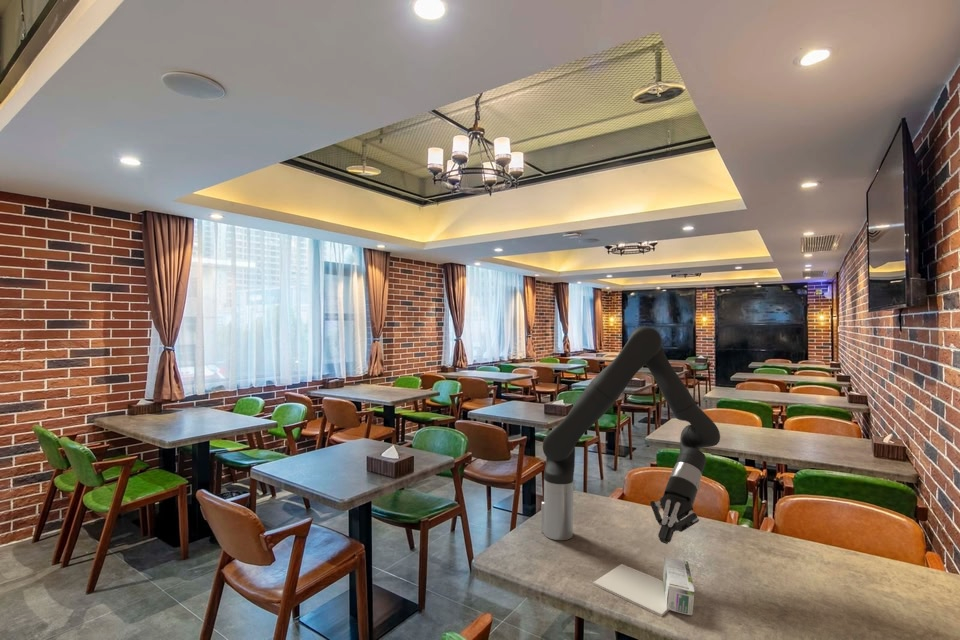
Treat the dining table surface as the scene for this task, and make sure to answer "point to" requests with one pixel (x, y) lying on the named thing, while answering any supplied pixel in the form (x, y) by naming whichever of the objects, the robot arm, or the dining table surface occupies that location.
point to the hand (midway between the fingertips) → (663, 541)
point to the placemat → (635, 588)
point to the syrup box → (678, 586)
